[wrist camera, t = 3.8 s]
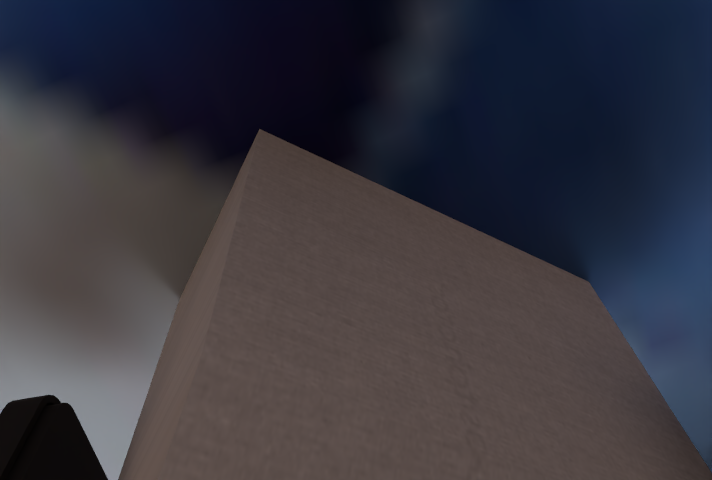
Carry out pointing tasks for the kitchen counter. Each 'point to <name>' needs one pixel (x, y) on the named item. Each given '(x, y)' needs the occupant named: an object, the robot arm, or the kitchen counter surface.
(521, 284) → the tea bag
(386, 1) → the kitchen counter surface
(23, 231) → the kitchen counter surface
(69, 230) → the kitchen counter surface
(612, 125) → the kitchen counter surface
